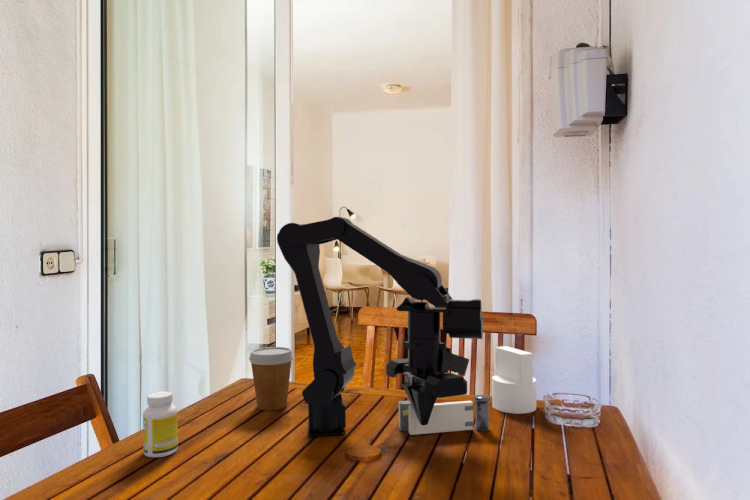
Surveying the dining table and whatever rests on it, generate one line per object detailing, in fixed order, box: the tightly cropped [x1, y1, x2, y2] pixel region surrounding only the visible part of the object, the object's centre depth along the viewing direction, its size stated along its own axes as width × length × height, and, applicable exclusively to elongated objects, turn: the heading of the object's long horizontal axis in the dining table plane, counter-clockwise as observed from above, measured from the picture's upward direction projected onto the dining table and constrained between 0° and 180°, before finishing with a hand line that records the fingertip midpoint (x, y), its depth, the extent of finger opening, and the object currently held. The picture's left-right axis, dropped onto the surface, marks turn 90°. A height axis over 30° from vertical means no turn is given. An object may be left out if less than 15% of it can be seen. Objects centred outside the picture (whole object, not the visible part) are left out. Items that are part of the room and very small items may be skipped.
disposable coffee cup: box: [248, 346, 295, 411], centre depth 115 cm, size 10×10×12 cm
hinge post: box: [473, 394, 491, 432], centre depth 99 cm, size 3×3×6 cm
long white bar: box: [408, 400, 474, 436], centre depth 97 cm, size 12×1×5 cm, turn 101°
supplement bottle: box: [142, 391, 179, 458], centre depth 90 cm, size 5×5×10 cm
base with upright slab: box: [491, 345, 537, 415], centre depth 112 cm, size 9×9×12 cm
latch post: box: [397, 400, 412, 432], centre depth 99 cm, size 2×2×5 cm
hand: (424, 424), depth 94 cm, fingers closed
